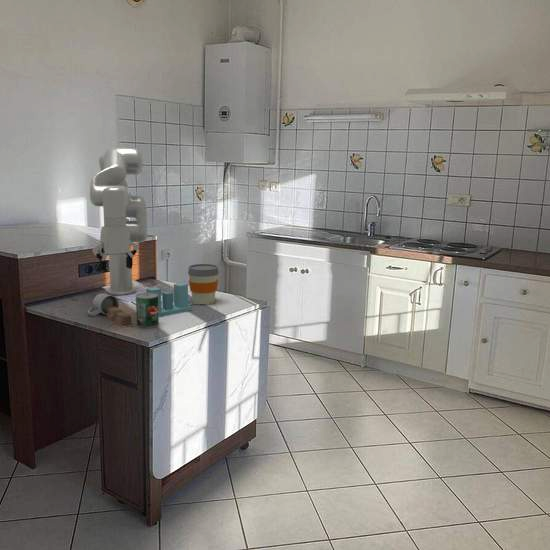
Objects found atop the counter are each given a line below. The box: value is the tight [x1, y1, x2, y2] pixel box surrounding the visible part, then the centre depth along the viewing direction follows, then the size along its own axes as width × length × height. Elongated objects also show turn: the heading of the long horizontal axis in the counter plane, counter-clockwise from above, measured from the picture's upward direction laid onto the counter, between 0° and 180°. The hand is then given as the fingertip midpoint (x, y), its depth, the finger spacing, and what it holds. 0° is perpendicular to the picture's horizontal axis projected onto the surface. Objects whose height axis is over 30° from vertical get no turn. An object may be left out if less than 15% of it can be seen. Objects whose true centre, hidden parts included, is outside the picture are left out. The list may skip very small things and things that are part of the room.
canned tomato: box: [135, 292, 160, 328], centre depth 203 cm, size 8×8×11 cm
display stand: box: [145, 282, 193, 317], centre depth 218 cm, size 6×18×10 cm, turn 131°
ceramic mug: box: [87, 293, 120, 317], centre depth 215 cm, size 11×8×8 cm
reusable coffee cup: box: [187, 263, 219, 306], centre depth 234 cm, size 13×12×15 cm
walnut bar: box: [106, 306, 133, 327], centre depth 207 cm, size 15×3×4 cm, turn 39°
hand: (116, 269), depth 202 cm, fingers open, 9 cm apart
